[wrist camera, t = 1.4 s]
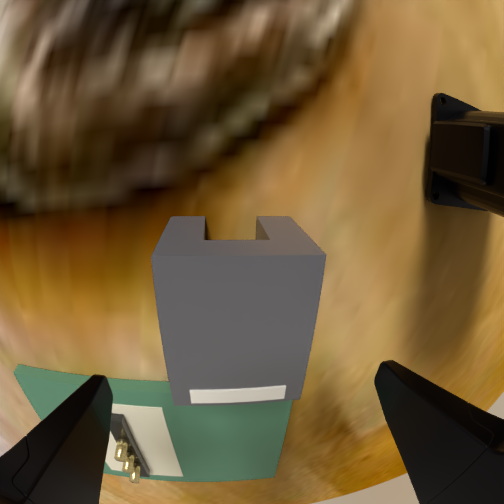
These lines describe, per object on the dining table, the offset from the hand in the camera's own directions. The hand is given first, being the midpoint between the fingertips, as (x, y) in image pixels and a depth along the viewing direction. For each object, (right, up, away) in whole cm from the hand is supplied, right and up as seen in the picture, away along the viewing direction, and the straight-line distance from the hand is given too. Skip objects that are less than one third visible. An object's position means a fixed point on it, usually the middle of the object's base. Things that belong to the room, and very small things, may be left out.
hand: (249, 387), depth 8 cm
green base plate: (-8, -11, +11) cm, 17 cm away
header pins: (-9, -11, +10) cm, 17 cm away
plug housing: (-1, +2, +7) cm, 7 cm away
